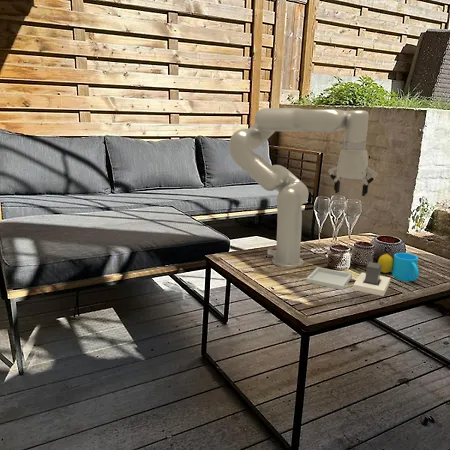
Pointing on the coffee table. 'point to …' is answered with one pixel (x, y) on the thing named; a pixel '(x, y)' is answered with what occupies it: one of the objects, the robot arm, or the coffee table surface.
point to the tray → (329, 278)
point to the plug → (373, 273)
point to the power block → (370, 288)
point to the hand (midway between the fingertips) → (350, 194)
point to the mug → (405, 267)
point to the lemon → (386, 263)
